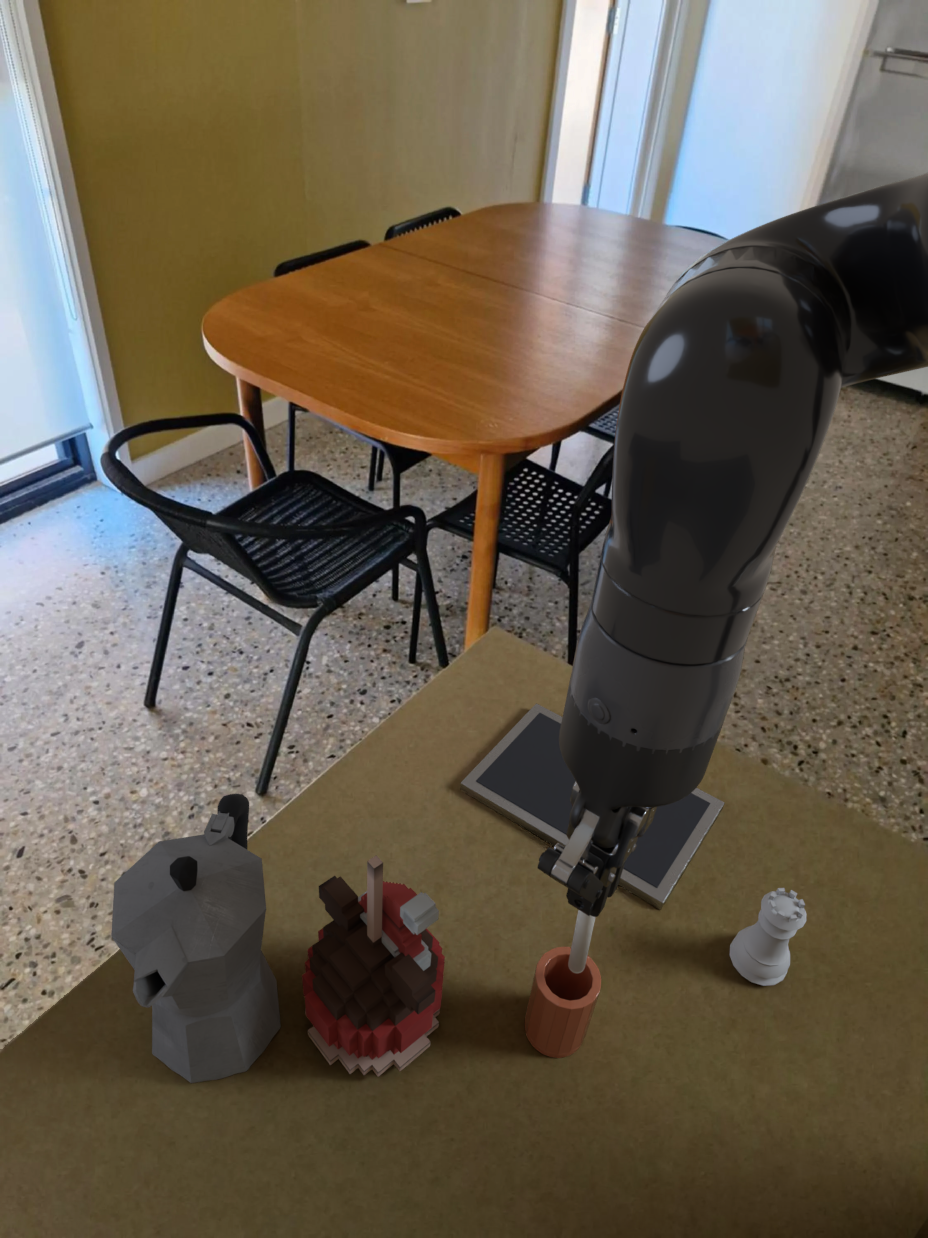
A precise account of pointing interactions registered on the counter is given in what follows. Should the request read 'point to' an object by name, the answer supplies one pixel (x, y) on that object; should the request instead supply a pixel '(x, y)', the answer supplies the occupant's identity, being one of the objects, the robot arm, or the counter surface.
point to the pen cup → (561, 1004)
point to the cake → (374, 975)
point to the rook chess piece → (769, 939)
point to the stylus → (581, 942)
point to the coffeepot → (201, 947)
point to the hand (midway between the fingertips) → (591, 895)
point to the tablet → (540, 802)
